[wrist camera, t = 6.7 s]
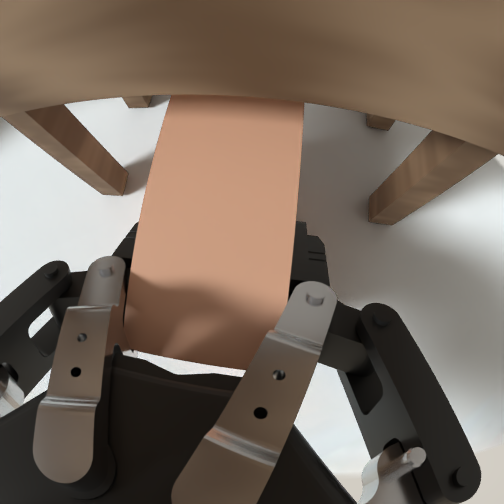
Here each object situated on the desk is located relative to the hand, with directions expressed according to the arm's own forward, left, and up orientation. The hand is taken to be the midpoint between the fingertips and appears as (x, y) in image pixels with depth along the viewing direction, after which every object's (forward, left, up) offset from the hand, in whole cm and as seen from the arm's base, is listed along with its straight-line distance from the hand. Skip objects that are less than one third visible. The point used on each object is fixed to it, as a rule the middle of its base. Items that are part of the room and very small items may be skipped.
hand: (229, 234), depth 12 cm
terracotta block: (0, 0, -4) cm, 4 cm away
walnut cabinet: (0, +7, -4) cm, 8 cm away
